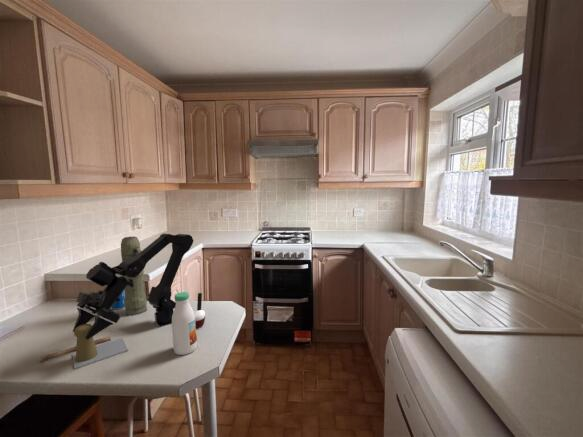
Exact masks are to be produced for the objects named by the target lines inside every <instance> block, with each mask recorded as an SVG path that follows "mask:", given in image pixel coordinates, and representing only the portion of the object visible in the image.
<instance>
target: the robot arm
mask: <svg viewBox="0 0 583 437" xmlns="http://www.w3.org/2000/svg"><path fill="white" fill-rule="evenodd" d="M170 244H171V250H172V252H171V254H170V257H169V260H168V261H167V264H166V267H165V269H164V271H163V274H162V276H161V278H160V281H159V283H158V284H157V285H156V286H152V287H151V289H150V291H149V293H148V295H147V297H148V298H147V302H148V304H149V305H150V306H152V308H154V309H155V312H154V313H153V314H154V322H155V324H157V326H158V327H163V326H166V325H169V324H172V315H173V312H174V309H175V306H176V302H175V300H172V299H171V298H172V286H173V283H174V281H175V280H174V279H175V278H176V275H177V273H178V270H179V267H180V265H181V262H182V261H183V258H184V255H186V253H188V252H189V250H190V249H191V247H193V246H192V245H193V244H194V238H193V236H192V235H190V234H185V233H178V234H171V233H162V234H160V235H159V237H157V238H156V239H155V240H154V241H152V242H151V243H150V244H149V245H148V246H146V247H145V248H143V250H141V252H140V253H139V254H137V255H135V256H133V257H130V258H128V259H126V260H125V261H123V262H122V261H121V262H120V263H119V264H118V265H116V266H115V265H114V266H113V267H111V266H109V265H108V264H107V263H105V262H103V261H99V263H98V264H96V265H93V267H92V268H90V269H89V270H88V272H87V273H86V279H87V280H89V281H91V282H92V283H95V284H96V285H98V286H100V287H104V286H105V287H104V289H103V290H101V289H100V290H98V292H93V291H91V292H85V291H84V292H83V291H79V293H78V296H77V298H76V302H77V304H76V306H77V308H76V310H77V311H78V317H77V320H76V322H75V325H74V327H73V329H72V332H73V333H74V330H75V328H76V327H78V326H80V325H82V324H89V322H90V321H92V319H93V318H94V322H93V323H92V324H91V325H92V327H91V329H90V330H89V332H88V333H87V335H86V337H85V339H90V338H91V337H93V338H94V336H96V335H97V334H98V333H100V332H102V331H103V330H105V329H106V328H108V327H110V326H113V325H114V323H115V324H118V322H119V320H120V319H121V314H120V313H117V312H115V311H113V310H112V306H113V305H114V303H115V302H119V301H120V299H118V298H119V296H120V295H121V294H122V292H123V291H124V290H125V288H126V287H127V286H130V287H134V285H133V280H132V279H126V278H124V277H123V276H127V277H136V276H138V275H139V274H140V273H141V272H142V270H143V269H145V267H146V266H147V264H148V262H149V261H151V260H152V259H153V258H154V257H156V256H157V254H159V253H160V252H162V250H164V248H166V247H167V246H168V245H170Z"/></svg>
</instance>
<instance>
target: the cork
mask: <svg viewBox="0 0 583 437" xmlns="http://www.w3.org/2000/svg"><path fill="white" fill-rule="evenodd" d="M92 325H93V324H92V323H86V324H82V325H80V326H78V327H76V328H75V330H74V332H73V334H74V337H76V345H75V346H76V351H75V353H76V361H77V362H84V361H88V360H90V359H92V358H94V357H95V356H97V354H98V353H97V349H96V346H97V345H95V342H94V341H95V339H94V336H93V337H91V338H90V339H85V337H86V335H87V333H88V332H89V330H90V329H91V327H92Z"/></svg>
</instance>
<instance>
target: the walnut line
mask: <svg viewBox="0 0 583 437" xmlns="http://www.w3.org/2000/svg"><path fill="white" fill-rule="evenodd" d="M111 341H112V340H111V335H109V336H108V335H107V336H105V337H102V338H98V339H96V340H95V339H94V342H95V346H98V345H101V344H104V343H107V342H111ZM100 343H101V344H100ZM97 344H98V345H97ZM73 353H76V345H75V346H72V347H69V348H66V349H61V350H58V351H55V352H52V353H49V354H46V355H42V356H40V357H39V363H43V362H46V361H50V360H52V359H55V358H60V357H62V356H64V355H68V354H73Z"/></svg>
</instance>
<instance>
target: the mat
mask: <svg viewBox="0 0 583 437" xmlns="http://www.w3.org/2000/svg"><path fill="white" fill-rule="evenodd" d="M95 346H96V349H97V353H98V354H97V356H95V357H94V358H92V359H90V360H88V361H84V362H77V361H76V352H72V361H73V368H74V370H77V369H81V368H83V367H86V366H89V365H91V364H94V363H97V362H100V361H103V360H106V359H109V358H112V357H115V356H118V355H120V354H121V355H122V354H123V353H126V352H128V351H129V349H128V347H127V345H126V343H125V340H124V339H123V337H120V338H117V339H113V340H110V341H107V342H104V343H101V344H98V345H95Z"/></svg>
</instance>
